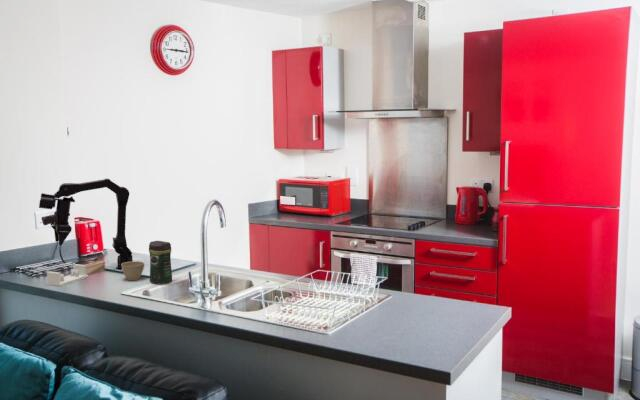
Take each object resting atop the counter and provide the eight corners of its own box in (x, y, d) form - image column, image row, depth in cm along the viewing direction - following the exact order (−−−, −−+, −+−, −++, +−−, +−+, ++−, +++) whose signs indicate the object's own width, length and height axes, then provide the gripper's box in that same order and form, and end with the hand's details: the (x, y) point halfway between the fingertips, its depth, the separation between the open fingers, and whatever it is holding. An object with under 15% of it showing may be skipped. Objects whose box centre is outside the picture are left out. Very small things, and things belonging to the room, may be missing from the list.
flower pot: (126, 283, 268) (126, 267, 267) (118, 278, 276) (117, 263, 275) (148, 279, 274) (147, 264, 273) (139, 275, 282) (138, 260, 281)
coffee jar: (175, 281, 270) (174, 240, 268) (161, 285, 264) (160, 243, 261) (160, 278, 276) (159, 238, 273) (146, 282, 269) (145, 241, 267)
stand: (88, 277, 278) (87, 265, 278) (60, 286, 262) (59, 273, 262) (74, 275, 281) (74, 263, 280) (46, 284, 265) (45, 272, 265)
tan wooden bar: (104, 270, 292) (104, 261, 291) (87, 276, 280) (86, 266, 280) (98, 269, 293) (97, 260, 292) (80, 275, 282) (79, 266, 281)
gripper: (41, 205, 285) (36, 238, 286) (47, 211, 269) (42, 246, 270) (66, 208, 291) (61, 240, 292) (73, 214, 275) (69, 247, 276)
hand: (58, 243), depth 282 cm, fingers open, 9 cm apart
